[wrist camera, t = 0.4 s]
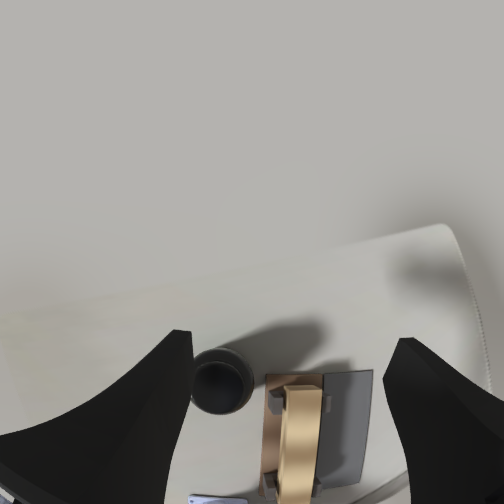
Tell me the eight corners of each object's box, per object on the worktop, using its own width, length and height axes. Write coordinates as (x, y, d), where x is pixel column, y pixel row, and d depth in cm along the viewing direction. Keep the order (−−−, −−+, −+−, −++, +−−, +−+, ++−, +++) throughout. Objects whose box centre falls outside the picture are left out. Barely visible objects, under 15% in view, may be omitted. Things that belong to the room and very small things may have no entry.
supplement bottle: (255, 354, 34) (268, 362, 23) (241, 404, 32) (247, 434, 21) (202, 339, 34) (189, 340, 23) (188, 389, 32) (168, 412, 21)
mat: (358, 481, 29) (359, 482, 29) (312, 489, 29) (313, 490, 28) (371, 370, 34) (372, 370, 34) (323, 373, 34) (324, 374, 34)
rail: (302, 494, 26) (309, 507, 23) (275, 496, 26) (279, 509, 22) (313, 385, 31) (322, 389, 27) (284, 385, 31) (290, 390, 27)
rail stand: (309, 489, 29) (320, 507, 23) (258, 492, 28) (263, 512, 23) (320, 373, 34) (334, 378, 29) (266, 374, 34) (272, 380, 28)
